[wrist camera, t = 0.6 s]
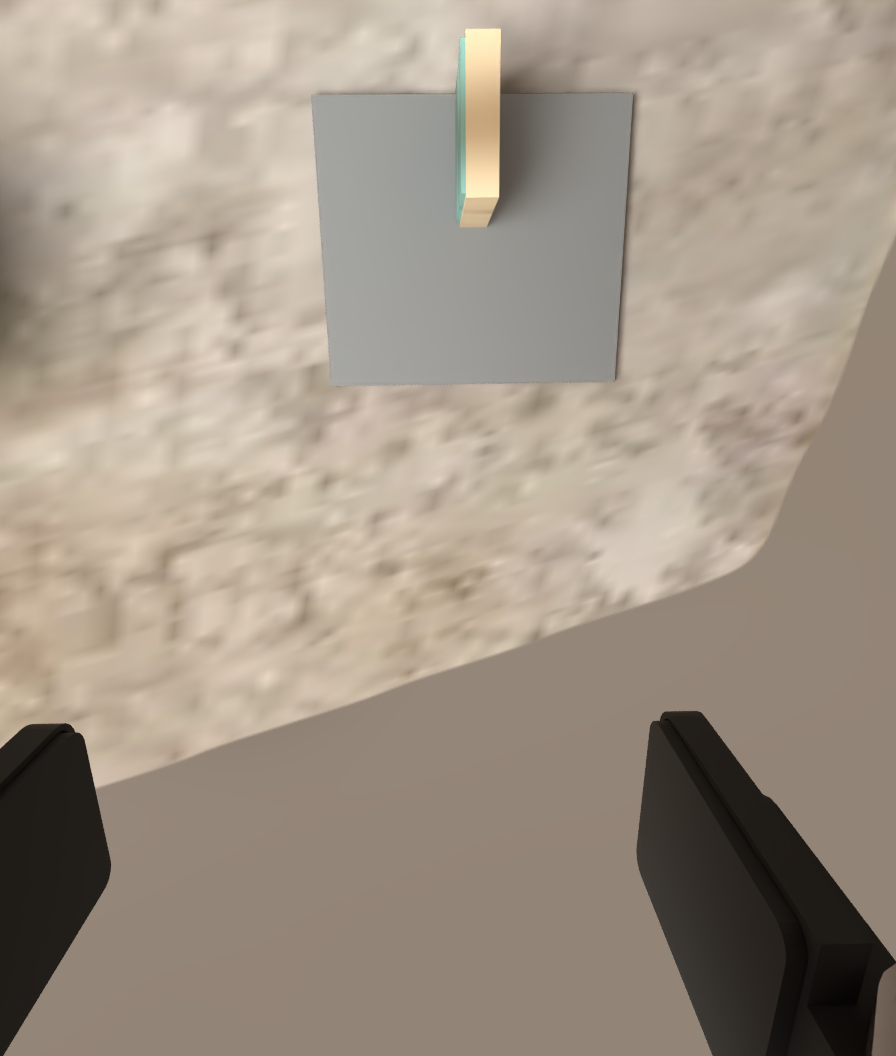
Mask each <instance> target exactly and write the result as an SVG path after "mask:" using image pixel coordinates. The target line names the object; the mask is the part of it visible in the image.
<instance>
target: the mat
mask: <svg viewBox="0 0 896 1056" xmlns="http://www.w3.org/2000/svg"><path fill="white" fill-rule="evenodd" d="M311 99H312V114H313V128H314V143H315V157H316V172H317V187H318V201H319V216H320V231H321V245H322V260H323V275H324V289H325V304H326V319H327V333H328V348H329V363H330V377H331V386H373V385H437V384H501V383H566V382H615V368H616V352H617V337H618V321H619V306H620V290H621V274H622V259H623V243H624V228H625V212H626V196H627V181H628V165H629V150H630V134H631V119H632V103H633V93H526V94H500V148H499V199H498V201H497V203H496V206H495V208H494V211H493V213H492V215H491V218H490V220H489V223H488V225H487V227H460V222H456V135H455V94H342V95H311Z"/></svg>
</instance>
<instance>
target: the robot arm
mask: <svg viewBox="0 0 896 1056" xmlns="http://www.w3.org/2000/svg"><path fill="white" fill-rule="evenodd" d="M637 861H638V866H639V871H640V874H641V877H642V879H643V881H644V884H645V887H646V889H647V892H648V894H649V897H650V899H651V902H652V904H653V907H654V909H655V912H656V914H657V917H658V919H659V922H660V924H661V927H662V929H663V932H664V934H665V937H666V939H667V942H668V945H669V947H670V950H671V952H672V955H673V957H674V960H675V962H676V965H677V967H678V969H679V972H680V975H681V977H682V980H683V982H684V985H685V987H686V989H687V992H688V995H689V997H690V1000H691V1002H692V1005H693V1007H694V1010H695V1012H696V1015H697V1017H698V1020H699V1022H700V1025H701V1027H702V1030H703V1032H704V1035H705V1037H706V1040H707V1043H708V1045H709V1047H710V1050H711V1052H712V1055H713V1056H896V961H895V960H894V958H893V957H892V956H891V954H890V953H889V952H888V951H887V949H886V948H885V947H884V945H883V944H882V943H881V942H880V940H879V939H878V937H877V936H876V935H875V934H874V932H873V931H872V930H871V928H870V927H869V925H868V924H867V923H866V922H865V920H864V919H863V918H862V916H861V915H860V914H859V913H858V911H857V910H856V908H855V907H854V906H853V904H852V903H851V902H850V900H849V899H848V898H847V897H846V895H845V894H844V893H843V891H842V890H841V889H840V887H839V886H838V885H837V883H836V882H835V881H834V879H833V878H832V877H831V876H830V874H829V873H828V871H826V869H825V868H824V866H823V865H822V864H821V862H820V861H819V860H818V858H817V857H816V856H815V854H814V853H813V852H812V851H811V849H810V848H809V847H808V845H807V844H806V843H805V841H804V840H803V839H802V837H801V836H800V835H799V833H798V832H797V831H796V829H795V828H794V827H793V825H792V824H791V823H790V821H789V820H788V819H787V818H786V816H785V815H784V814H783V812H782V811H781V810H780V808H779V807H778V806H777V805H776V804H775V803H774V802H773V801H772V799H771V798H769V797H767V796H765V795H763V794H762V793H761V791H760V790H759V789H758V788H757V786H756V785H755V783H754V782H753V781H752V779H751V778H750V777H749V775H748V774H747V773H746V771H745V770H744V769H743V767H742V766H741V765H740V763H739V762H738V761H737V760H736V758H735V757H734V755H733V754H732V753H731V751H730V750H729V749H728V747H727V746H726V744H725V743H724V742H723V741H722V739H721V738H720V736H719V735H718V734H717V732H716V731H715V730H714V728H713V727H712V726H711V725H710V723H709V722H708V720H707V719H706V718H705V717H704V715H703V714H702V713H701V712H698V711H675V712H674V711H673V712H664V713H663V714H662V716H661V718H660V721H653V722H652V723H651V726H650V733H649V741H648V750H647V759H646V768H645V777H644V787H643V796H642V804H641V813H640V823H639V831H638V840H637ZM110 871H111V861H110V856H109V851H108V847H107V842H106V837H105V833H104V829H103V823H102V819H101V815H100V810H99V805H98V800H97V796H96V791H95V786H94V782H93V777H92V773H91V768H90V763H89V759H88V754H87V749H86V745H85V740H84V738H83V736H82V735H81V734H80V733H75V731H74V728H73V727H72V726H71V725H69V724H66V723H64V724H31V725H27V726H25V727H24V728H23V729H21V730H20V731H19V732H18V733H17V734H16V735H15V736H14V737H12V738H11V739H10V740H9V741H8V742H7V743H6V744H5V745H4V746H3V747H2V748H0V1056H3V1055H4V1053H5V1052H6V1050H7V1048H8V1047H9V1045H10V1043H11V1042H12V1040H13V1039H14V1037H15V1035H16V1034H17V1032H18V1030H19V1029H20V1027H21V1026H22V1024H23V1022H24V1020H25V1019H26V1017H27V1016H28V1014H29V1012H30V1011H31V1009H32V1007H33V1006H34V1004H35V1003H36V1001H37V999H38V998H39V996H40V994H41V993H42V991H43V989H44V988H45V986H46V984H47V983H48V981H49V980H50V978H51V976H52V974H53V973H54V971H55V970H56V968H57V966H58V965H59V963H60V961H61V960H62V958H63V957H64V955H65V953H66V952H67V950H68V948H69V947H70V945H71V943H72V942H73V940H74V939H75V937H76V935H77V934H78V932H79V930H80V929H81V927H82V925H83V924H84V922H85V920H86V919H87V917H88V916H89V914H90V912H91V910H92V909H93V907H94V906H95V904H96V902H97V901H98V899H99V897H100V896H101V894H102V893H103V891H104V889H105V887H106V885H107V883H108V880H109V876H110Z"/></svg>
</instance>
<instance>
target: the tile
mask: <svg viewBox="0 0 896 1056" xmlns="http://www.w3.org/2000/svg"><path fill="white" fill-rule="evenodd" d="M500 42H501V29H465V38H460V47H459V58H458V70H457V81H456V93H455V135H456V222H460V227H487V225H488V223H489V220H490V218H491V215H492V213H493V211H494V208H495V206H496V203H497V201H498V199H499V148H500Z"/></svg>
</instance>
